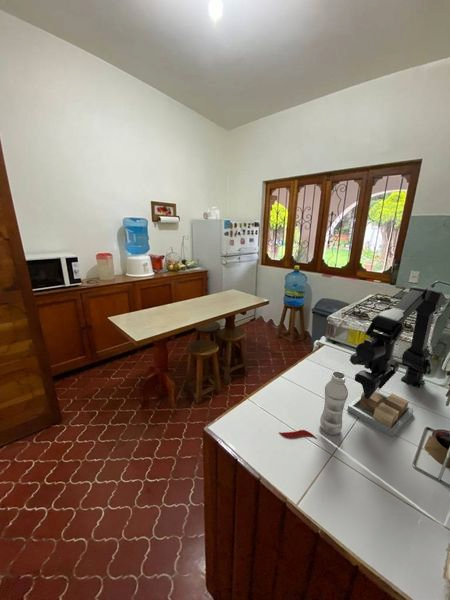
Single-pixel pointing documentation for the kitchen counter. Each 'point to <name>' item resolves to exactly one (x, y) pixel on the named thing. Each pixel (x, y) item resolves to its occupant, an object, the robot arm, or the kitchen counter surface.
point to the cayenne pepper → (297, 434)
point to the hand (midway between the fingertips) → (373, 392)
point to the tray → (369, 418)
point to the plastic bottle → (334, 404)
